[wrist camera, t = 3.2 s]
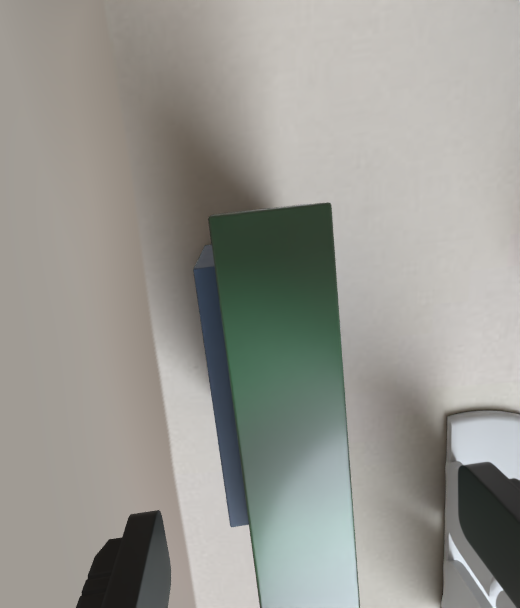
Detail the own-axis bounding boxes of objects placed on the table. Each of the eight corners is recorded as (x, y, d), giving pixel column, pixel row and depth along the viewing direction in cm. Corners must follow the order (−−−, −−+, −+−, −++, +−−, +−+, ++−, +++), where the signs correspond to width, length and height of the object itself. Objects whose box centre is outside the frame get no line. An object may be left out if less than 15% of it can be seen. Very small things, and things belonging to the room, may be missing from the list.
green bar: (211, 214, 17) (207, 216, 12) (302, 204, 17) (331, 202, 13) (257, 561, 20) (267, 660, 16) (332, 548, 20) (363, 643, 16)
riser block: (204, 245, 29) (193, 268, 17) (287, 235, 29) (331, 252, 17) (227, 410, 31) (230, 527, 20) (302, 399, 32) (350, 509, 20)
